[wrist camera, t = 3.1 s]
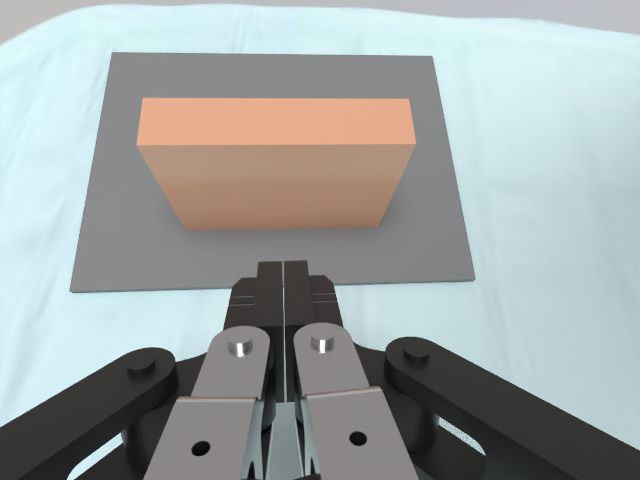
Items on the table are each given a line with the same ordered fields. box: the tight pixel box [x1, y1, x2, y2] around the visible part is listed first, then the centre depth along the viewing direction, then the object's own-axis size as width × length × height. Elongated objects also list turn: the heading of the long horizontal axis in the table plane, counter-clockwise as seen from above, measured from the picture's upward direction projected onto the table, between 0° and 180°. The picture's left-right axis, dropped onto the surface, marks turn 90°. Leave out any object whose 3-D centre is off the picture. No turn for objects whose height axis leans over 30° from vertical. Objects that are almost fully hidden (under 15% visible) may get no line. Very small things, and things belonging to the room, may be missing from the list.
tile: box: [136, 98, 416, 231], centre depth 23 cm, size 12×2×9 cm, turn 93°
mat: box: [69, 52, 475, 293], centre depth 29 cm, size 24×18×1 cm
